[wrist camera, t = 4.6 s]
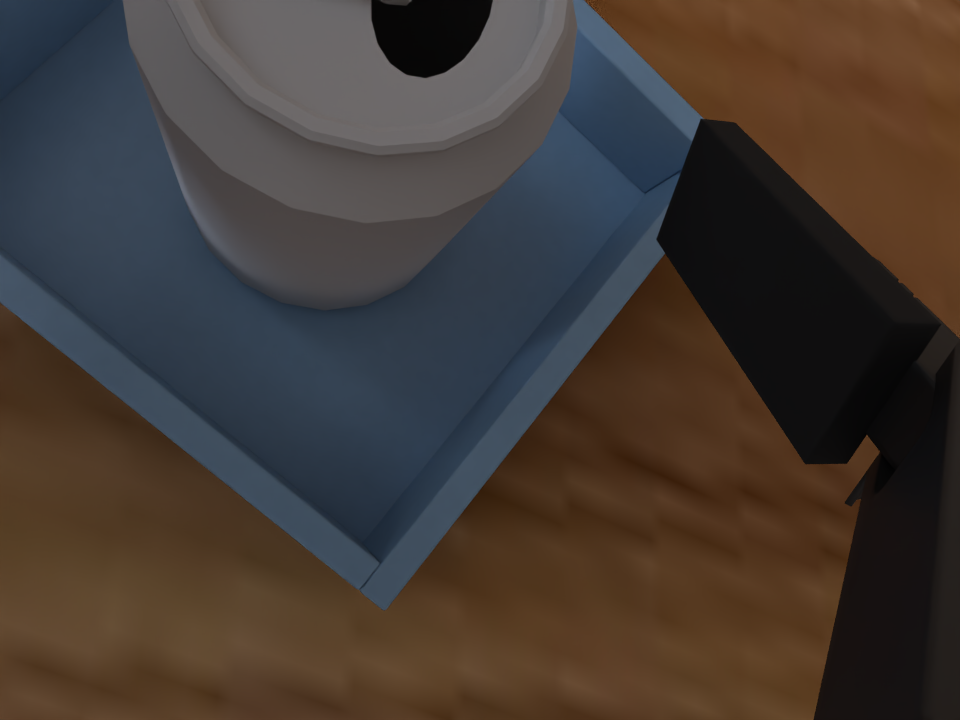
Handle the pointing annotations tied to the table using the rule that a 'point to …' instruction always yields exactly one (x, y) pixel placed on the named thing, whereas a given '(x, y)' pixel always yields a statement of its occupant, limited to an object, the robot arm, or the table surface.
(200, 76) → the can
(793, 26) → the table surface
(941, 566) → the robot arm
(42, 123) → the tray
